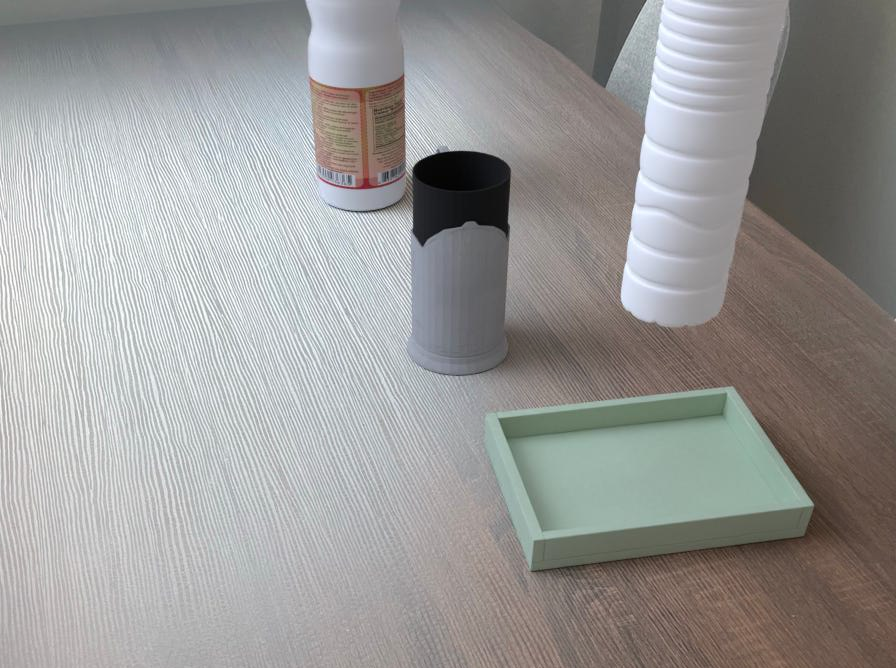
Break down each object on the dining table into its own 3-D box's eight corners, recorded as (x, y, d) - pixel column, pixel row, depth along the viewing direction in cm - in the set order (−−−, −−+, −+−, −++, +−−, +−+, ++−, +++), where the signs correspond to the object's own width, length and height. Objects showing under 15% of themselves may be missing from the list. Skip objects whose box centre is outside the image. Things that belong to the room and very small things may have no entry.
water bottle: (723, 333, 64) (838, -177, 45) (617, 325, 64) (688, -179, 46) (719, 267, 69) (820, -208, 51) (622, 260, 70) (687, -209, 52)
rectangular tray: (725, 416, 81) (733, 385, 79) (804, 536, 71) (815, 505, 69) (483, 443, 79) (485, 413, 77) (530, 571, 69) (533, 540, 67)
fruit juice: (317, 215, 106) (291, -116, 85) (318, 176, 112) (294, -140, 92) (408, 212, 106) (403, -118, 86) (404, 173, 113) (399, -142, 92)
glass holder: (415, 379, 85) (413, 199, 74) (391, 295, 95) (386, 124, 84) (518, 369, 86) (531, 190, 75) (484, 286, 95) (491, 117, 84)
